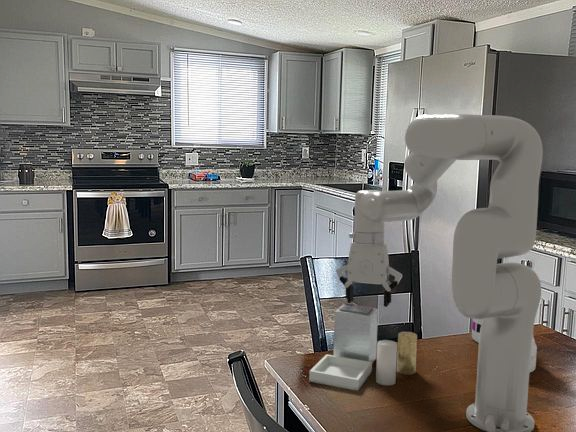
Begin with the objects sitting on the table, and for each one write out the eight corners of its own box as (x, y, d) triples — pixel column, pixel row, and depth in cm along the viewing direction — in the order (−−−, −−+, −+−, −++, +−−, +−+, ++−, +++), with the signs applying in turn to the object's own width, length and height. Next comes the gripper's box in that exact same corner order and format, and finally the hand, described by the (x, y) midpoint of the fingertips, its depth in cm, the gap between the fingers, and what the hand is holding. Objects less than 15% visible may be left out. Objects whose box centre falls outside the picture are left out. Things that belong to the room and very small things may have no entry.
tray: (357, 390, 126) (358, 379, 126) (309, 381, 131) (309, 370, 130) (371, 372, 137) (371, 362, 136) (326, 364, 141) (326, 354, 141)
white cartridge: (392, 386, 129) (394, 348, 127) (373, 383, 130) (375, 344, 129) (397, 379, 133) (399, 341, 132) (378, 376, 134) (380, 338, 133)
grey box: (368, 368, 139) (370, 314, 137) (333, 362, 142) (334, 309, 140) (376, 358, 145) (378, 306, 144) (342, 352, 149) (344, 302, 147)
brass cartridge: (413, 376, 135) (415, 339, 134) (394, 372, 137) (396, 336, 135) (417, 369, 139) (418, 333, 138) (398, 366, 141) (400, 330, 139)
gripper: (332, 238, 148) (331, 303, 150) (399, 242, 141) (398, 310, 143) (341, 234, 155) (340, 297, 156) (405, 238, 148) (404, 303, 150)
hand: (368, 303), depth 150 cm, fingers open, 9 cm apart
